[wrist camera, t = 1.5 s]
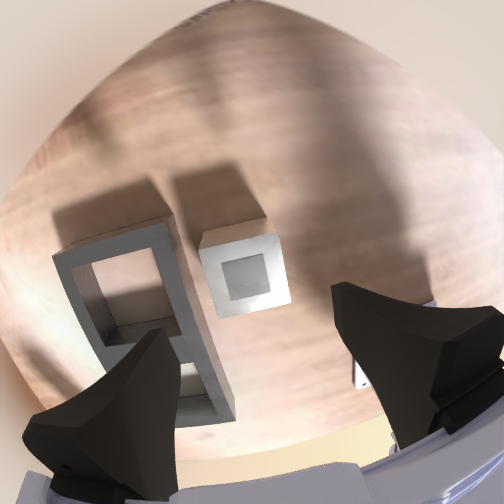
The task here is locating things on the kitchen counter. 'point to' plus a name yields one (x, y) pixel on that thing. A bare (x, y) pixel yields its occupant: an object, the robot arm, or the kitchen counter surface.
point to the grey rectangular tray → (177, 328)
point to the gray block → (244, 267)
